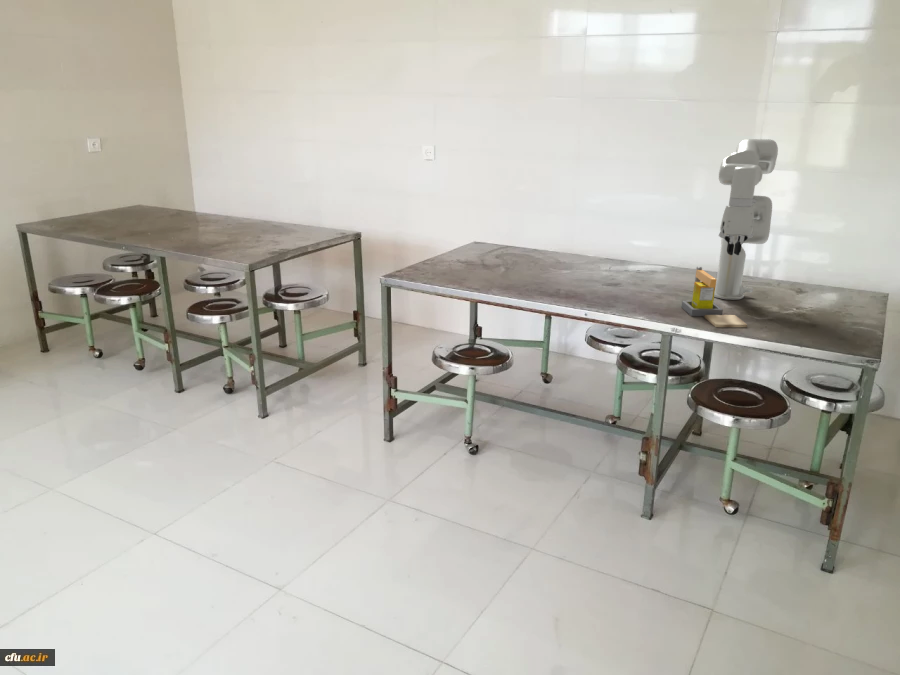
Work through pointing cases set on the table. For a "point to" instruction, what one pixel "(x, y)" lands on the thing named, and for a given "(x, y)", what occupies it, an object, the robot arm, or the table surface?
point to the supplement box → (702, 296)
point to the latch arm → (704, 277)
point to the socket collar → (701, 312)
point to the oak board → (725, 321)
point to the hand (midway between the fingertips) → (733, 253)
